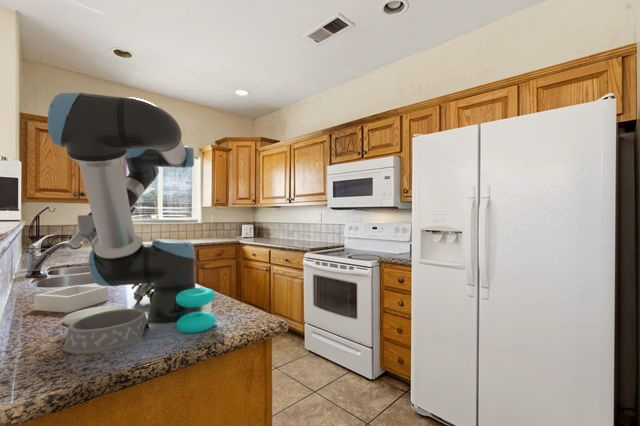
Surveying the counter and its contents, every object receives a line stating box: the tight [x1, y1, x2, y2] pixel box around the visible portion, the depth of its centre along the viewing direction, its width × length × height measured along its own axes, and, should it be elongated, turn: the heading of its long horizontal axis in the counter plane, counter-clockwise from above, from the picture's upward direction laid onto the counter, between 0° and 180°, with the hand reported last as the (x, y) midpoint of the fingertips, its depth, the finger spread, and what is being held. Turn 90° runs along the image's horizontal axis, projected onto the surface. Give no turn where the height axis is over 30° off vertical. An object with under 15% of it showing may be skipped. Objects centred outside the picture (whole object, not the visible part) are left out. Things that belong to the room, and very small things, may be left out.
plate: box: [62, 305, 125, 326], centre depth 96 cm, size 15×15×1 cm
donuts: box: [175, 287, 216, 334], centre depth 86 cm, size 10×10×10 cm
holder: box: [33, 284, 109, 314], centre depth 110 cm, size 14×14×5 cm
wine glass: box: [76, 214, 97, 267], centre depth 96 cm, size 8×8×15 cm
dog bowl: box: [63, 308, 151, 355], centre depth 79 cm, size 17×18×5 cm
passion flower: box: [131, 283, 154, 306], centre depth 110 cm, size 11×11×12 cm
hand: (83, 245), depth 93 cm, fingers closed on wine glass, 8 cm apart
